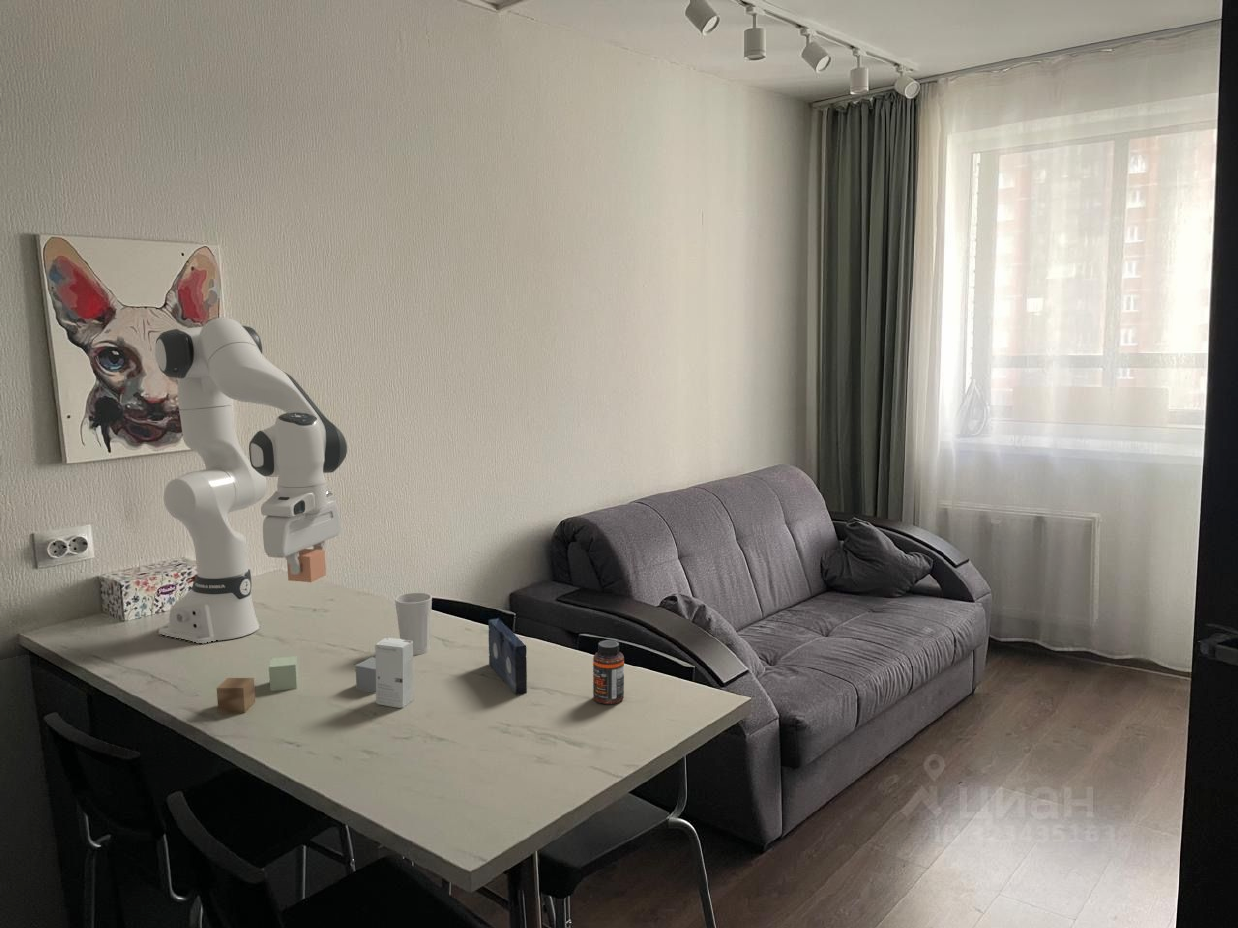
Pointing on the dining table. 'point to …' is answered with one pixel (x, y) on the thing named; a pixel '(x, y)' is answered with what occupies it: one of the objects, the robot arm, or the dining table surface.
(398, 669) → the skincare box
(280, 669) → the sage cube
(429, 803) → the dining table surface
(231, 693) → the walnut cube
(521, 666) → the vhs cassette tape
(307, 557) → the terracotta cube
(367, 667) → the slate cube
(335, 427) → the robot arm
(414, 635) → the cup
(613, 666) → the supplement bottle
